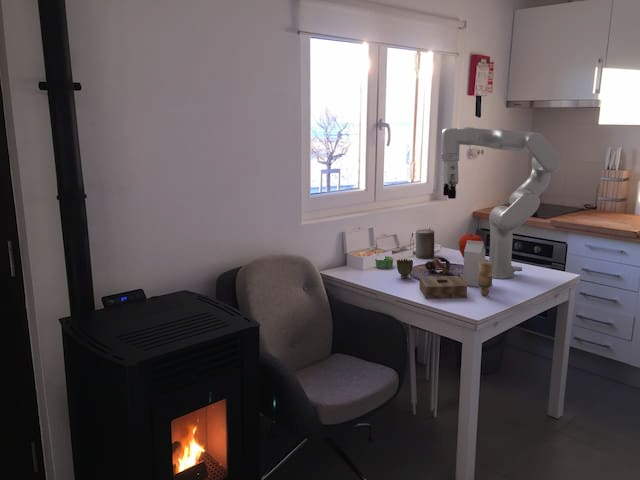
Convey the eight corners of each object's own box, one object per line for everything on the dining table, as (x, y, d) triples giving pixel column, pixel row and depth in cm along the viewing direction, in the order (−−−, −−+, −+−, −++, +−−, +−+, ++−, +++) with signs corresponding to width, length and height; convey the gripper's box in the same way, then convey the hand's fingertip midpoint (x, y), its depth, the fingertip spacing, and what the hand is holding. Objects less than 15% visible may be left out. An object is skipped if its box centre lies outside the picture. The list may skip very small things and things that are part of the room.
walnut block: (458, 287, 230) (458, 275, 229) (466, 297, 216) (467, 285, 215) (419, 288, 230) (419, 276, 229) (425, 298, 216) (425, 286, 215)
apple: (453, 259, 274) (453, 232, 270) (471, 256, 279) (472, 229, 276) (470, 265, 263) (471, 237, 260) (488, 261, 268) (489, 234, 265)
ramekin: (397, 267, 264) (397, 258, 263) (383, 270, 259) (383, 261, 258) (384, 263, 271) (384, 254, 270) (371, 266, 266) (371, 257, 265)
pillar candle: (437, 256, 282) (438, 227, 279) (427, 259, 275) (427, 230, 272) (422, 253, 288) (422, 226, 285) (411, 257, 281) (411, 229, 278)
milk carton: (479, 287, 229) (481, 243, 225) (463, 285, 233) (464, 242, 229) (484, 282, 235) (485, 240, 231) (468, 280, 239) (469, 238, 234)
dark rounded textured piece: (412, 280, 241) (412, 263, 240) (396, 279, 243) (396, 262, 241) (413, 275, 249) (413, 258, 247) (397, 275, 250) (397, 258, 248)
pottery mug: (437, 269, 260) (446, 256, 256) (447, 282, 253) (456, 268, 249) (418, 266, 254) (426, 252, 250) (427, 279, 247) (435, 266, 243)
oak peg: (489, 293, 221) (490, 261, 218) (493, 297, 216) (494, 264, 213) (476, 293, 221) (477, 261, 218) (480, 297, 216) (481, 265, 213)
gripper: (463, 158, 225) (462, 199, 228) (454, 155, 242) (453, 194, 245) (445, 159, 225) (444, 200, 229) (437, 156, 242) (437, 194, 245)
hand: (449, 196), depth 237 cm, fingers open, 9 cm apart
